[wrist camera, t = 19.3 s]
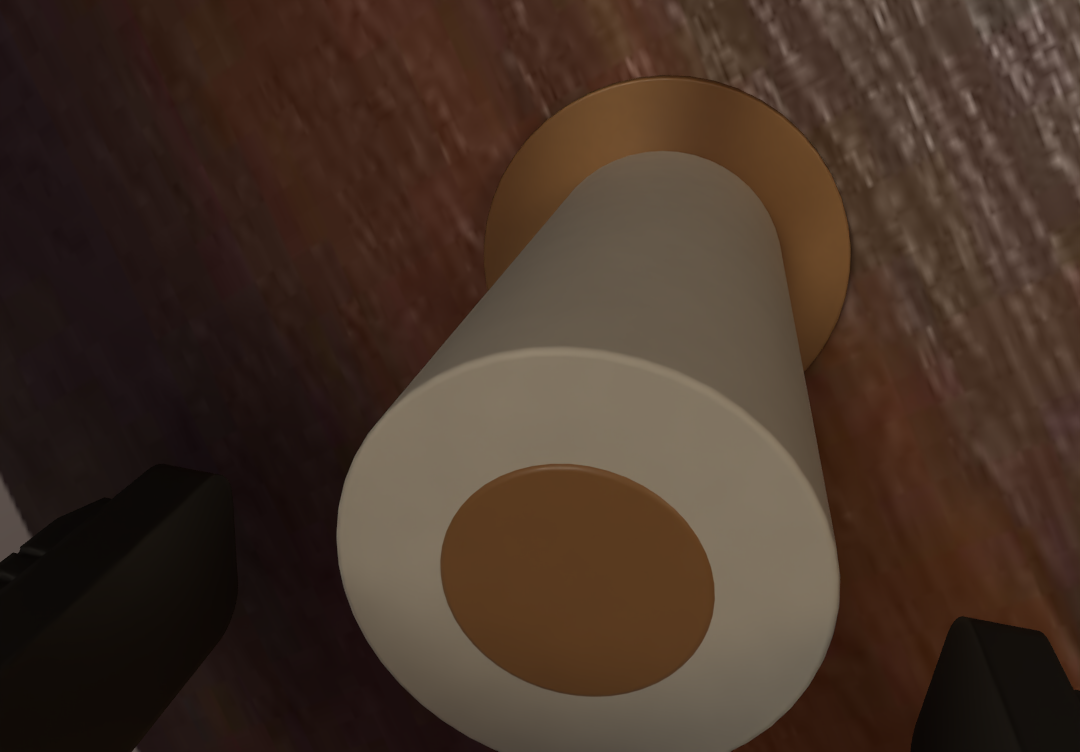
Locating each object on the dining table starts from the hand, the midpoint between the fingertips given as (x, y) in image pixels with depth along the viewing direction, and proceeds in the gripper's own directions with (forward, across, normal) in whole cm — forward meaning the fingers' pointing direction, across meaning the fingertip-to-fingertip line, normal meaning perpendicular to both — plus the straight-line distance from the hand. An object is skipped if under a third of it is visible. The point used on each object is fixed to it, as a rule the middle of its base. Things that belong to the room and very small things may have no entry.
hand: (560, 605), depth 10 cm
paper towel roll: (+7, 0, 0) cm, 7 cm away
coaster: (+14, 0, 0) cm, 14 cm away
